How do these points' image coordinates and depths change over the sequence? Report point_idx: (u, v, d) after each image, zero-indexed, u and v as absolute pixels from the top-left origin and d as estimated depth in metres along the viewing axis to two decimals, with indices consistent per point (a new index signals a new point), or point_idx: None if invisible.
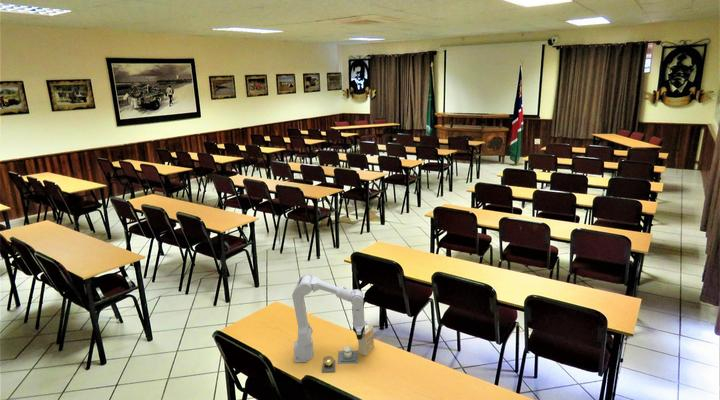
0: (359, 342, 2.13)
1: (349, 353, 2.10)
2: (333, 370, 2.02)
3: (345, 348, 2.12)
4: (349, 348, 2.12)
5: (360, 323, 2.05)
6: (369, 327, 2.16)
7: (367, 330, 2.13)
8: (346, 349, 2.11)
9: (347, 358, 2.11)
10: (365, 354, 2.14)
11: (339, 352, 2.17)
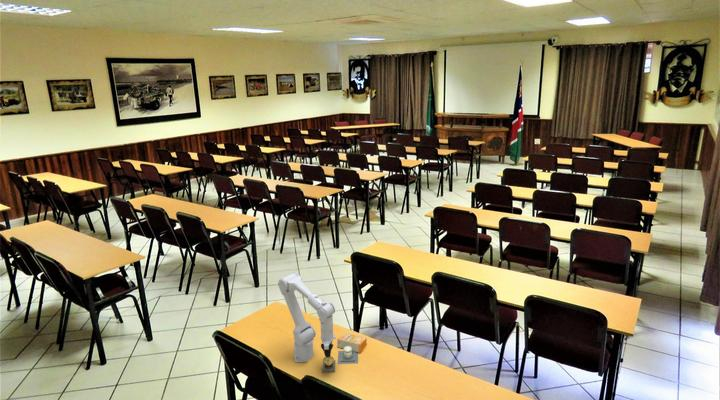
0: None
1: (349, 353, 2.10)
2: (333, 370, 2.02)
3: (345, 348, 2.12)
4: (349, 348, 2.12)
5: (328, 337, 1.97)
6: None
7: None
8: (346, 349, 2.11)
9: (347, 358, 2.11)
10: (357, 345, 2.15)
11: (339, 352, 2.17)
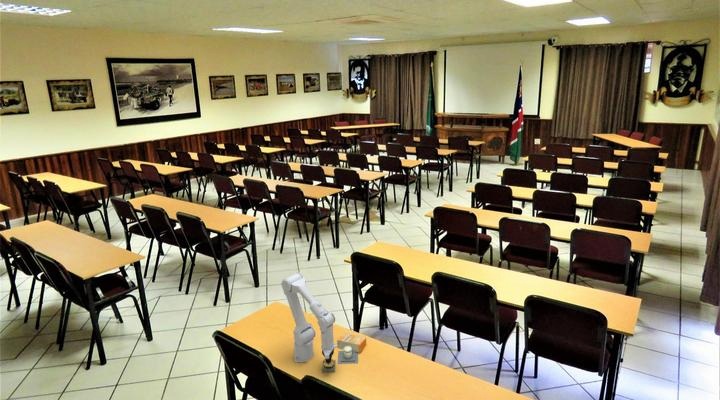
0: None
1: (349, 353, 2.10)
2: (333, 370, 2.02)
3: (345, 348, 2.12)
4: (349, 348, 2.12)
5: (329, 346, 1.99)
6: None
7: None
8: (346, 349, 2.11)
9: (347, 358, 2.11)
10: (357, 345, 2.15)
11: (339, 352, 2.17)
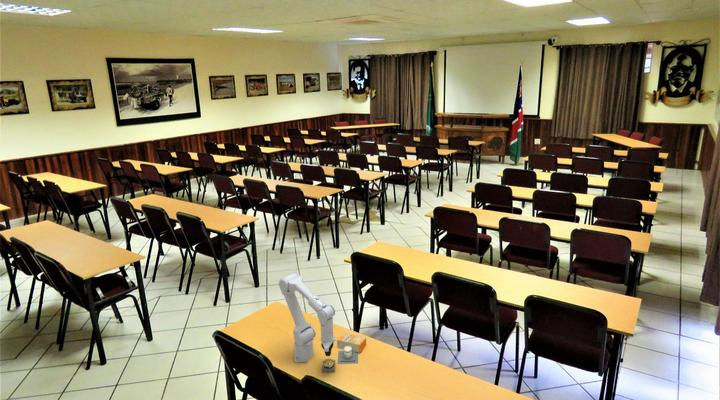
0: None
1: (349, 353, 2.10)
2: (333, 370, 2.02)
3: (345, 348, 2.12)
4: (349, 348, 2.12)
5: (328, 339, 1.98)
6: None
7: None
8: (346, 349, 2.11)
9: (347, 358, 2.11)
10: (357, 345, 2.15)
11: (339, 352, 2.17)
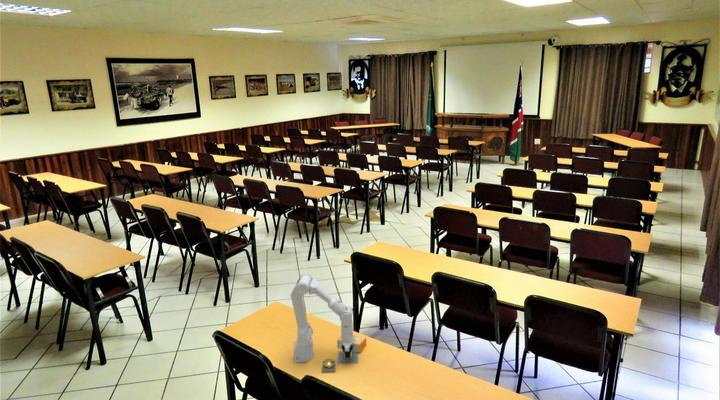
0: None
1: None
2: (333, 370, 2.02)
3: None
4: None
5: (349, 339, 2.07)
6: None
7: None
8: None
9: (347, 358, 2.11)
10: (357, 345, 2.15)
11: (339, 352, 2.17)
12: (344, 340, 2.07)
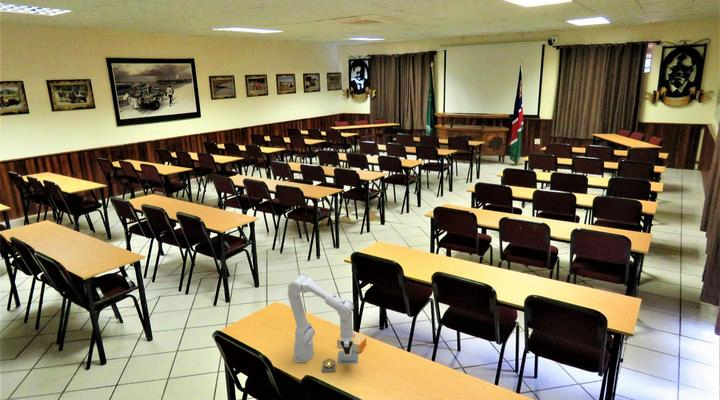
0: None
1: None
2: (333, 370, 2.02)
3: None
4: None
5: (348, 335, 1.99)
6: None
7: None
8: None
9: (346, 354, 2.03)
10: (357, 345, 2.15)
11: (339, 352, 2.17)
12: (343, 335, 1.99)
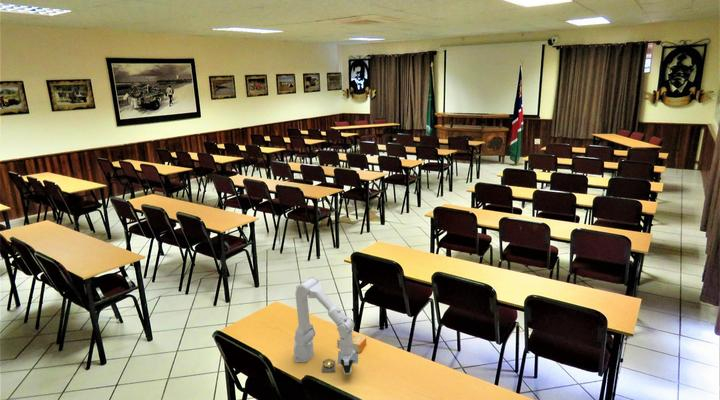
0: None
1: None
2: (333, 370, 2.02)
3: None
4: None
5: (348, 352, 1.96)
6: None
7: None
8: None
9: (347, 374, 2.01)
10: (357, 345, 2.15)
11: (339, 352, 2.17)
12: (343, 353, 1.97)
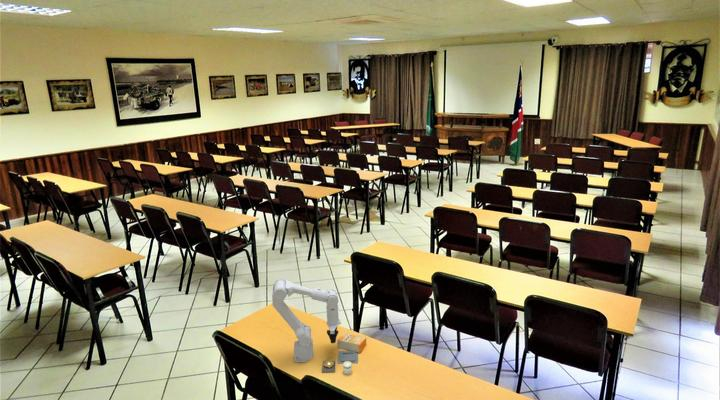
0: (346, 348, 2.18)
1: (349, 369, 2.00)
2: (333, 370, 2.02)
3: (345, 363, 2.01)
4: (349, 363, 2.01)
5: (334, 322, 2.09)
6: None
7: None
8: (346, 365, 2.00)
9: (347, 374, 2.01)
10: (357, 345, 2.15)
11: (339, 352, 2.17)
12: (329, 323, 2.09)
